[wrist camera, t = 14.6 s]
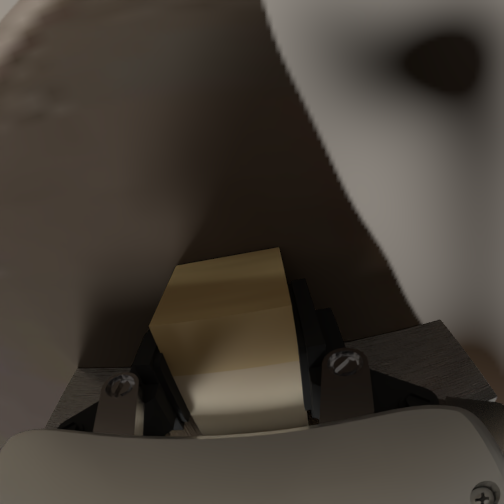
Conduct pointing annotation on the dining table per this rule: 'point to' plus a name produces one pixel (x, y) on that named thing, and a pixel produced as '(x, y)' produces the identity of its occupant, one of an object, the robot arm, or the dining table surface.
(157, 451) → the robot arm
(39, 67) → the dining table surface
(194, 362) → the bar
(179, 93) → the dining table surface
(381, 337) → the housing
